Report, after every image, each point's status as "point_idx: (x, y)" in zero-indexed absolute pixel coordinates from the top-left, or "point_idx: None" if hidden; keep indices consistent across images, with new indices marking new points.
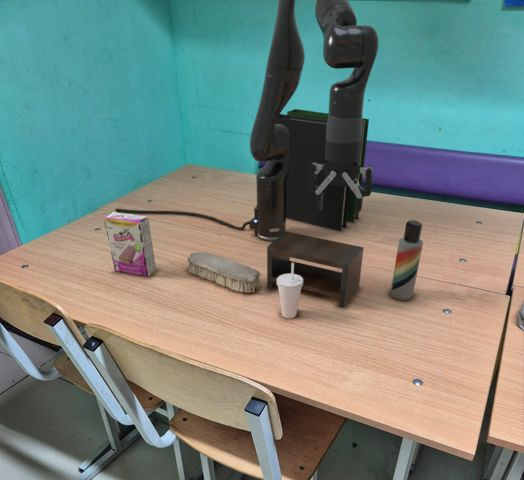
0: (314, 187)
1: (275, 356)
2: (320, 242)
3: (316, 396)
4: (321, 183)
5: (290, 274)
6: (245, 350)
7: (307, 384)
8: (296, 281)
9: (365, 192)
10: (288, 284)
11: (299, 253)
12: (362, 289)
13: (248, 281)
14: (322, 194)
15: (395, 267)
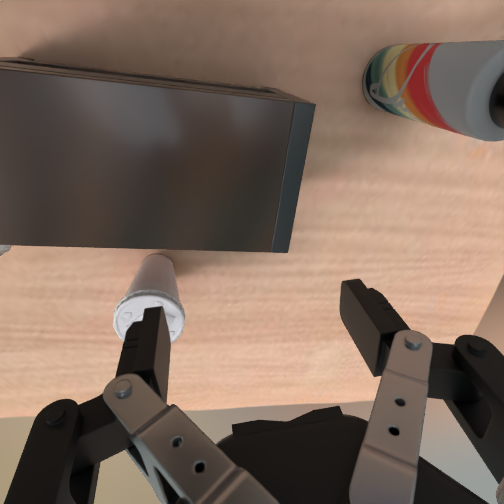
0: (103, 457)
1: (195, 371)
2: (141, 127)
3: (278, 403)
4: (130, 437)
5: (136, 301)
6: None
7: (261, 393)
8: (169, 325)
9: (450, 404)
10: None
11: (114, 245)
12: (286, 88)
13: (1, 253)
14: (159, 382)
15: (406, 104)
